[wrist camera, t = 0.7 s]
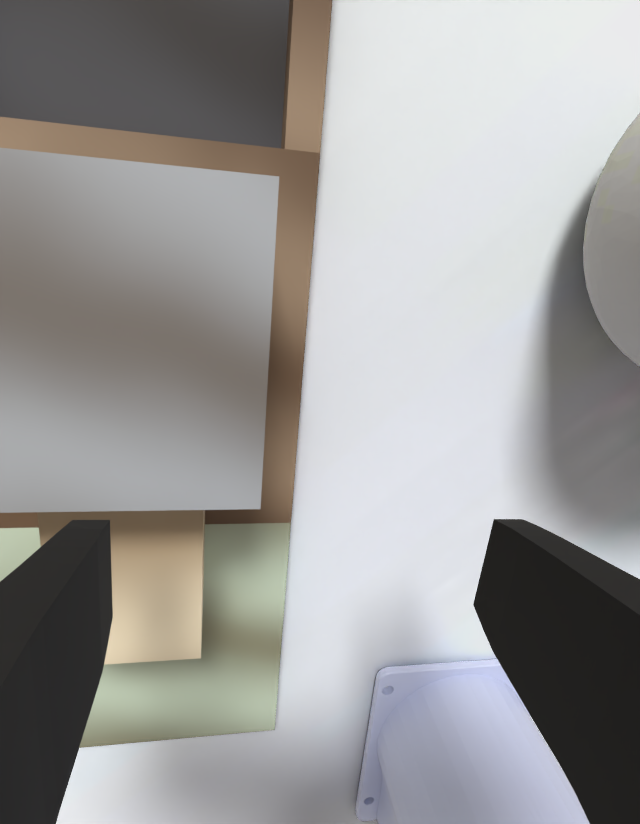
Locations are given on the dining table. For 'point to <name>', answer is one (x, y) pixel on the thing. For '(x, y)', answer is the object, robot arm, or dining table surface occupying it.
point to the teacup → (616, 245)
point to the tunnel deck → (162, 309)
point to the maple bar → (150, 581)
